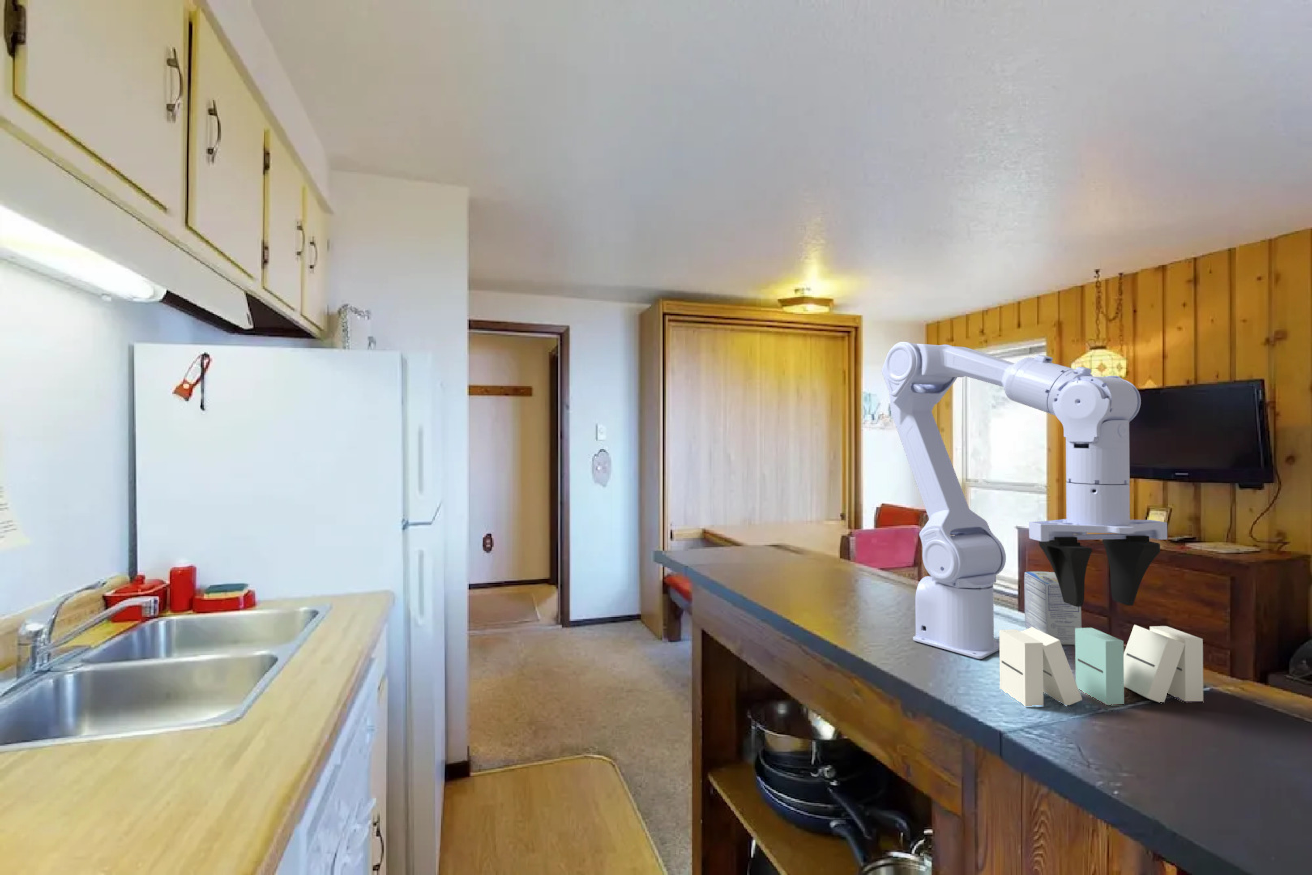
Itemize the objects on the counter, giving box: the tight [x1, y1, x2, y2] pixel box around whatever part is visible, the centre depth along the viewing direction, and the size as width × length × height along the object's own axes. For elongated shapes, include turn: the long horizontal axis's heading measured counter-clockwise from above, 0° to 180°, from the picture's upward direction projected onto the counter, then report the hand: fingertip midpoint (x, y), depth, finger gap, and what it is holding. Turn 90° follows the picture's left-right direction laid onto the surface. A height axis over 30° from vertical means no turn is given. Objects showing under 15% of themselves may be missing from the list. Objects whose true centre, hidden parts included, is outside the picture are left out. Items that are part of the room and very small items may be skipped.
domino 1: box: [998, 629, 1044, 706], centre depth 66 cm, size 2×4×7 cm, turn 2°
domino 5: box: [1149, 625, 1204, 702], centre depth 66 cm, size 2×4×7 cm, turn 2°
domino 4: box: [1124, 624, 1185, 703], centre depth 66 cm, size 2×4×7 cm, turn 2°
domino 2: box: [1020, 627, 1083, 706], centre depth 66 cm, size 2×4×7 cm, turn 2°
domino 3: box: [1074, 627, 1125, 706], centre depth 66 cm, size 2×4×7 cm, turn 2°
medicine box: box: [1023, 571, 1083, 646], centre depth 86 cm, size 8×4×9 cm, turn 168°
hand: (1098, 603), depth 66 cm, fingers open, 5 cm apart
